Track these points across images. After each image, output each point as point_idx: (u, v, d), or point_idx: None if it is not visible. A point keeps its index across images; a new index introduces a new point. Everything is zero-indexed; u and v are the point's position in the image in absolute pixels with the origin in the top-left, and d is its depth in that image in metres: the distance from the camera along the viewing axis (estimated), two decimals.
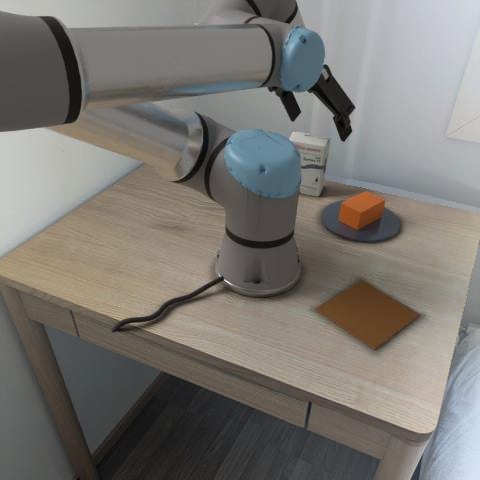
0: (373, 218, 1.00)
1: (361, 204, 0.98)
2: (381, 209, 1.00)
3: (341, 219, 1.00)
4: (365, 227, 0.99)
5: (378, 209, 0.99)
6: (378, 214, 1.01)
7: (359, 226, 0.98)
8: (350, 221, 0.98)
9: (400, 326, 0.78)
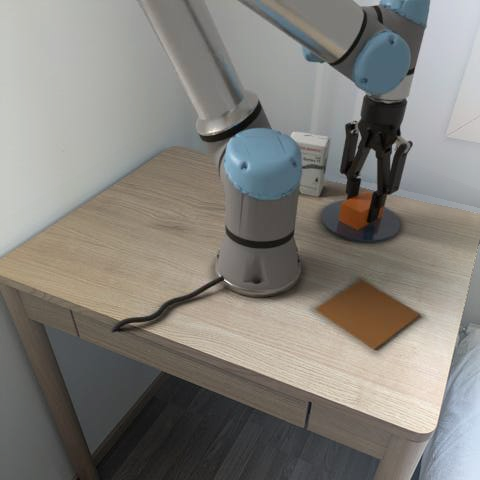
0: None
1: (361, 204, 0.98)
2: (381, 209, 1.00)
3: (341, 219, 1.00)
4: (365, 227, 0.99)
5: None
6: None
7: (359, 226, 0.98)
8: (350, 221, 0.98)
9: (400, 326, 0.78)
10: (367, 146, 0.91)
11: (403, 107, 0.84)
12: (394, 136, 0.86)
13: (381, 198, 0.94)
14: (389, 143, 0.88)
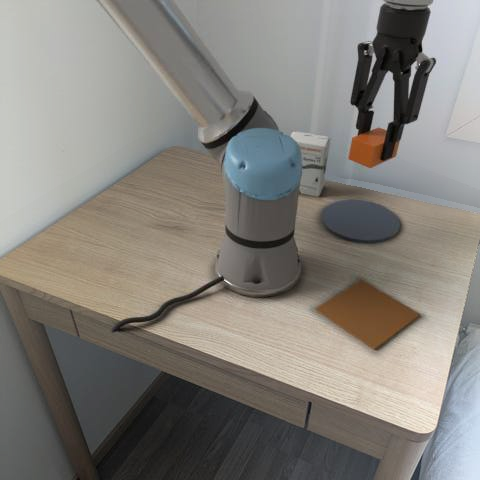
0: None
1: (375, 139, 0.87)
2: (395, 147, 0.90)
3: (352, 157, 0.89)
4: (365, 227, 0.99)
5: None
6: None
7: (372, 164, 0.87)
8: (362, 158, 0.88)
9: (400, 326, 0.78)
10: (383, 68, 0.81)
11: (426, 16, 0.73)
12: (415, 52, 0.76)
13: (398, 130, 0.84)
14: (409, 61, 0.77)
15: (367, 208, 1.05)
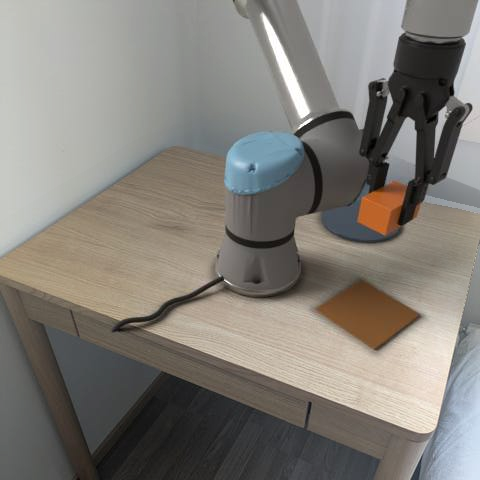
0: None
1: (391, 199, 0.69)
2: (417, 207, 0.72)
3: (362, 220, 0.71)
4: (365, 227, 0.99)
5: None
6: None
7: (388, 230, 0.69)
8: (375, 223, 0.70)
9: (400, 326, 0.78)
10: (401, 114, 0.63)
11: (461, 50, 0.55)
12: (445, 96, 0.58)
13: (420, 190, 0.66)
14: (437, 107, 0.59)
15: None
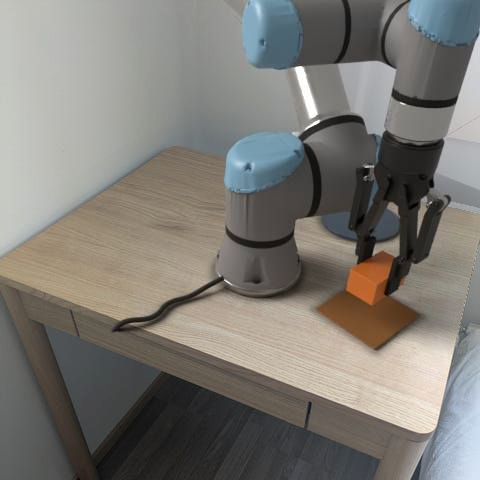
0: None
1: (377, 271, 0.73)
2: None
3: (350, 289, 0.75)
4: None
5: None
6: None
7: (374, 301, 0.73)
8: (362, 293, 0.74)
9: (400, 326, 0.78)
10: (386, 199, 0.67)
11: (439, 150, 0.59)
12: (425, 189, 0.62)
13: (404, 267, 0.70)
14: (418, 197, 0.63)
15: None
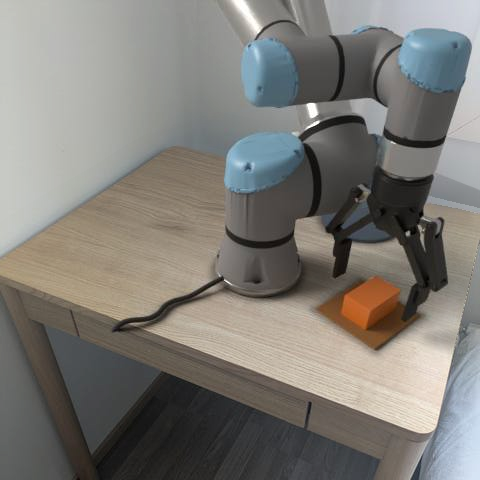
0: (385, 313, 0.79)
1: (370, 297, 0.77)
2: (395, 301, 0.79)
3: (345, 314, 0.79)
4: (365, 227, 0.99)
5: (391, 302, 0.78)
6: (391, 307, 0.79)
7: (368, 325, 0.77)
8: (356, 318, 0.77)
9: (400, 326, 0.78)
10: (379, 227, 0.70)
11: (428, 185, 0.62)
12: (416, 220, 0.65)
13: (423, 293, 0.69)
14: (408, 228, 0.66)
15: (367, 208, 1.05)
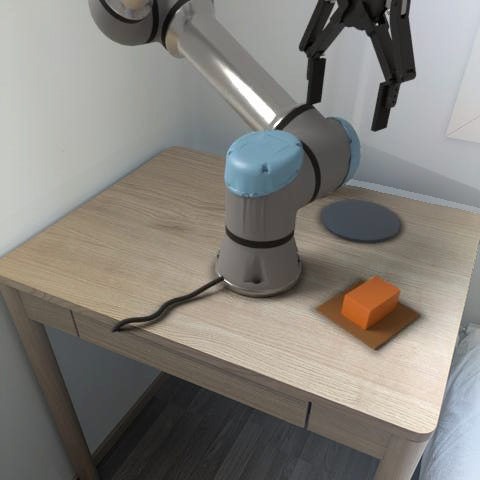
0: (385, 313, 0.79)
1: (370, 297, 0.77)
2: (395, 301, 0.79)
3: (345, 314, 0.79)
4: (365, 227, 0.99)
5: (391, 302, 0.78)
6: (391, 307, 0.79)
7: (368, 325, 0.77)
8: (356, 318, 0.77)
9: (400, 326, 0.78)
10: (347, 24, 0.68)
11: None
12: (381, 1, 0.63)
13: (391, 91, 0.67)
14: (375, 13, 0.64)
15: (367, 208, 1.05)
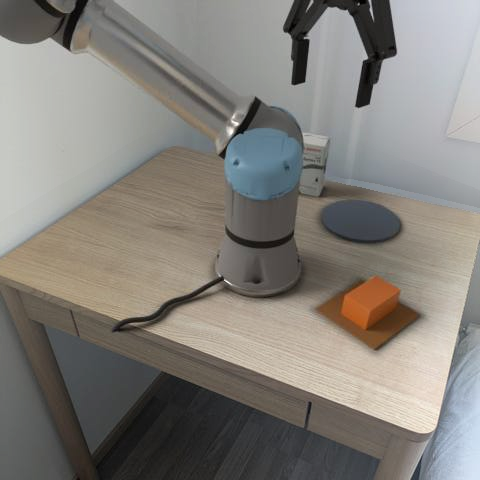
0: (385, 313, 0.79)
1: (370, 297, 0.77)
2: (395, 301, 0.79)
3: (345, 314, 0.79)
4: (365, 227, 0.99)
5: (391, 302, 0.78)
6: (391, 307, 0.79)
7: (368, 325, 0.77)
8: (356, 318, 0.77)
9: (400, 326, 0.78)
10: (330, 5, 0.71)
11: None
12: None
13: (374, 68, 0.71)
14: None
15: (367, 208, 1.05)
